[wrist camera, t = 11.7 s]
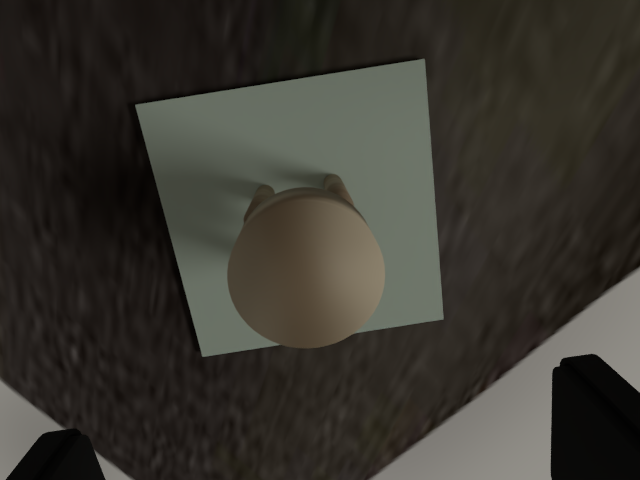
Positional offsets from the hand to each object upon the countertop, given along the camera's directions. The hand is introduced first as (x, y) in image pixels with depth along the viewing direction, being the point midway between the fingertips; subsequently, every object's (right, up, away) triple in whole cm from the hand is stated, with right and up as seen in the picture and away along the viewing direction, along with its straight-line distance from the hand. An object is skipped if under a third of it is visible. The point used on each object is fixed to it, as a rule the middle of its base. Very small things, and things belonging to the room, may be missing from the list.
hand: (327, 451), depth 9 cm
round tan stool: (-1, +5, +18) cm, 18 cm away
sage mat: (-1, +5, +18) cm, 19 cm away
